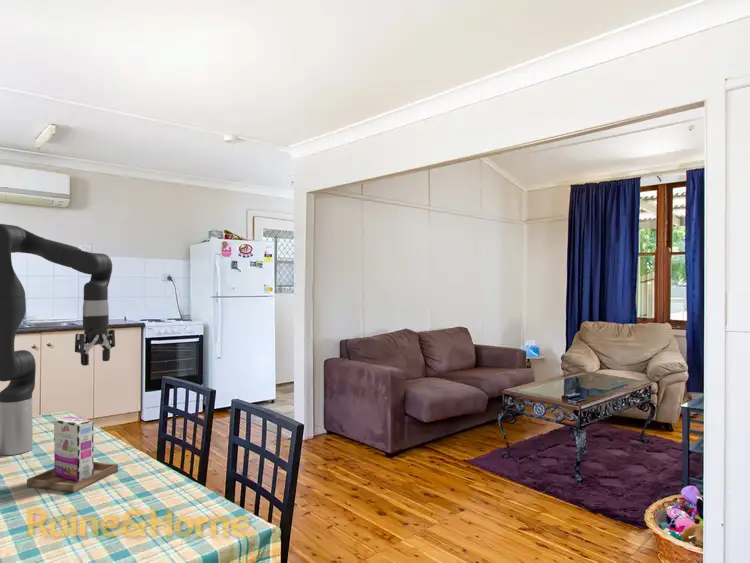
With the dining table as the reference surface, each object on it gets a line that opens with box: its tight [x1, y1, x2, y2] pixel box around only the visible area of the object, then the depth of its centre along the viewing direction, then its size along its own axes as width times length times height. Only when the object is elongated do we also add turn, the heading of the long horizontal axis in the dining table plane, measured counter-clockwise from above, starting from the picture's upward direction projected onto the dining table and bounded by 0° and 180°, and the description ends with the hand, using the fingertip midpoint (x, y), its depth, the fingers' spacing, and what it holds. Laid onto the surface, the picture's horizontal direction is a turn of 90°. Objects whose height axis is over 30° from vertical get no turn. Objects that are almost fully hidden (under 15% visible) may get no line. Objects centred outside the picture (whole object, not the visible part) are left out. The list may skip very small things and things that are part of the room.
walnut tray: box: [26, 461, 119, 494], centre depth 149 cm, size 16×16×2 cm
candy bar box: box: [53, 416, 94, 482], centre depth 149 cm, size 11×5×16 cm, turn 64°
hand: (95, 363), depth 171 cm, fingers open, 8 cm apart
